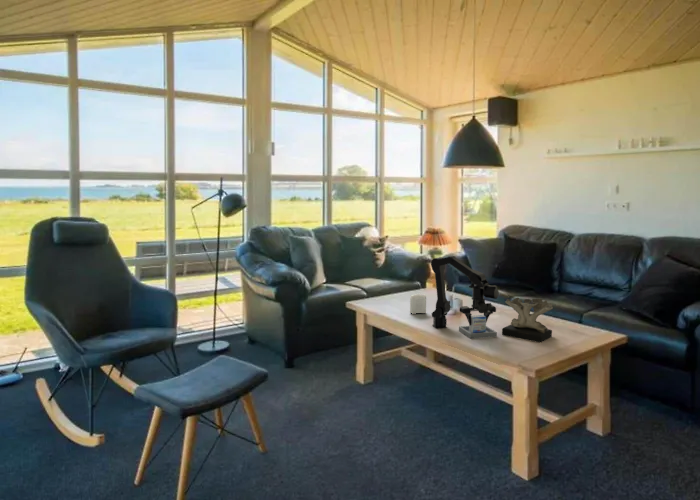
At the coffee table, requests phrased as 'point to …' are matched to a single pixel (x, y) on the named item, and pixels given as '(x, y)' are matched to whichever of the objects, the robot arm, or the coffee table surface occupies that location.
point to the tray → (471, 335)
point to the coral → (528, 320)
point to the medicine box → (478, 324)
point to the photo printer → (418, 303)
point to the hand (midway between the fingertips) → (477, 324)
